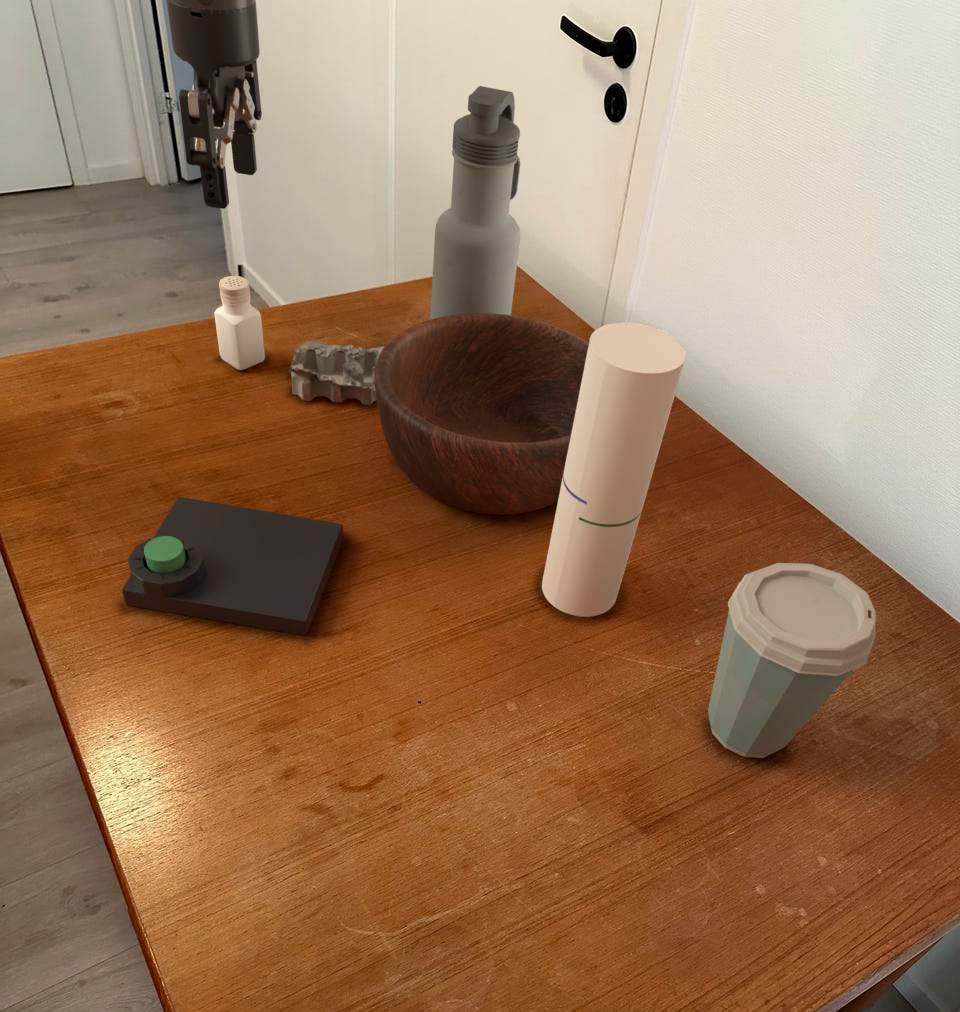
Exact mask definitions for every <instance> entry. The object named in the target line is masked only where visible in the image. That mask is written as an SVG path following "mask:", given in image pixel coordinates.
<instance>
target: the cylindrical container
mask: <svg viewBox="0 0 960 1012" xmlns="http://www.w3.org/2000/svg"><path fill="white" fill-rule="evenodd" d="M588 343H589V346H588V351H587V356H586V362H585V367H584V372H583V377H582V382H581V387H580V392H579V397H578V402H577V407H576V413H575V418H574V423H573V428H572V433H571V438H570V443H569V448H568V453H567V458H566V463H565V468H564V474H563V478H562V484H561V489H560V494H559V499H558V502H557V505H556V510H555V515H554V520H553V524H552V530H551V534H550V539H549V544H548V550H547V555H546V560H545V565H544V571H543V576H542V581H541V589H542V593H543V595H544V597H545V599H546V600H547V602H548V603H550V604H551V605H552V606H553V607H554V608H556V609H557V610H559V611H561V612H563V613H565V614H567V615H571V616H575V617H580V618H581V617H583V618H584V617H585V618H586V617H587V618H588V617H589V618H590V617H595V616H596V617H597V616H599V615H602V614H604V613H607V612H608V611H610V610H611V608H613V606H614V605H615V604H616V601H617V598H618V594H619V592H620V588H621V585H622V581H623V578H624V574H625V570H626V567H627V563H628V560H629V558H630V557H629V556H630V553H631V550H632V546H633V543H634V540H635V536H636V533H637V529H638V526H639V522H640V519H641V516H642V511H643V508H644V504H645V502H646V497H647V495H648V491H649V488H650V483H651V480H652V477H653V473H654V470H655V467H656V463H657V459H658V455H659V454H660V453H659V452H660V448H661V445H662V442H663V440H664V439H663V438H664V435H665V431H666V427H667V425H668V421H669V417H670V414H671V410H672V407H673V404H674V399H675V396H676V393H677V390H678V386H679V383H680V379H681V375H682V371H683V368H684V365H685V361H686V358H687V352H686V348H685V346H684V345H683V344H682V342H680V340H678V339H677V338H676V337H675V336H673V335H672V334H671V333H668V332H667V331H665V330H663V329H660V328H658V327H655V326H652V325H649V324H648V325H647V324H645V323H644V324H643V323H638V322H628V321H627V322H625V321H624V322H623V321H621V322H612V323H608V324H604V325H602V326H600V327H598V328H596V329H595V330H594V331H593V332H591V335H590V337H589V341H588Z"/></svg>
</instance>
